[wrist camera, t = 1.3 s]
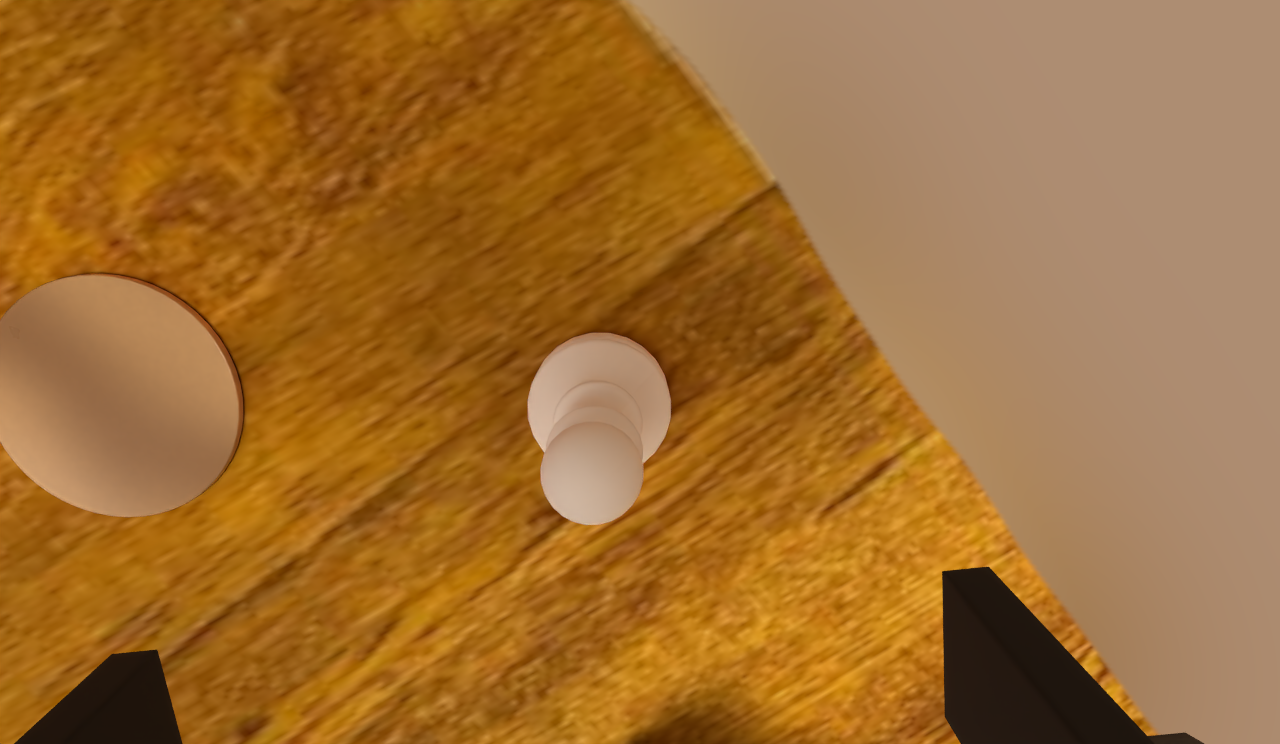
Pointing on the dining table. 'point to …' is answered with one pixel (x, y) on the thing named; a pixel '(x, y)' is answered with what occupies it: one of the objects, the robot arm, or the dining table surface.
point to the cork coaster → (116, 395)
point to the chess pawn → (597, 424)
